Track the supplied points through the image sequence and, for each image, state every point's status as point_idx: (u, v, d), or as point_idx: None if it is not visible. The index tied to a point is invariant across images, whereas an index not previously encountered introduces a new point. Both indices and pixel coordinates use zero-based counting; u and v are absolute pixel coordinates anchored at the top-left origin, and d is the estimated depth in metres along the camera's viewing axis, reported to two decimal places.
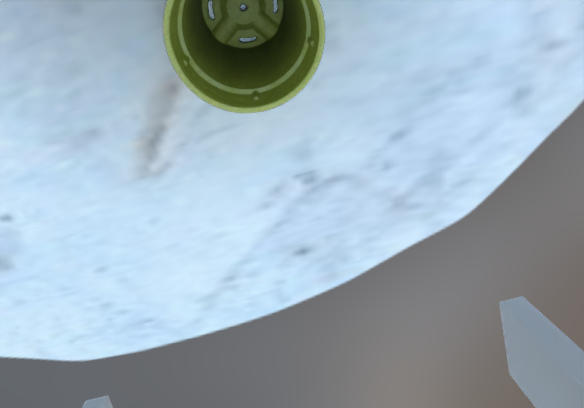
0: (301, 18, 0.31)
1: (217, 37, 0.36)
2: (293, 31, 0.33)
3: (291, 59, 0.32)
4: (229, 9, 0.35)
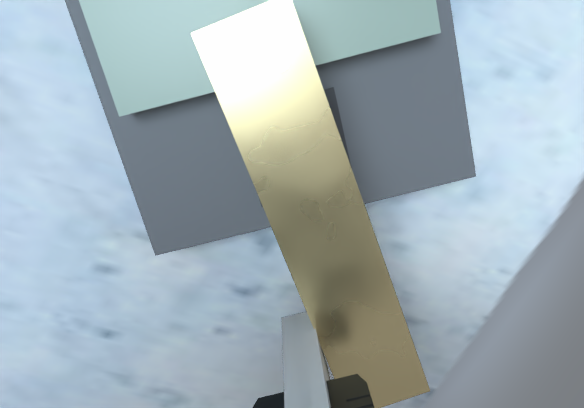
0: None
1: None
2: None
3: None
4: None
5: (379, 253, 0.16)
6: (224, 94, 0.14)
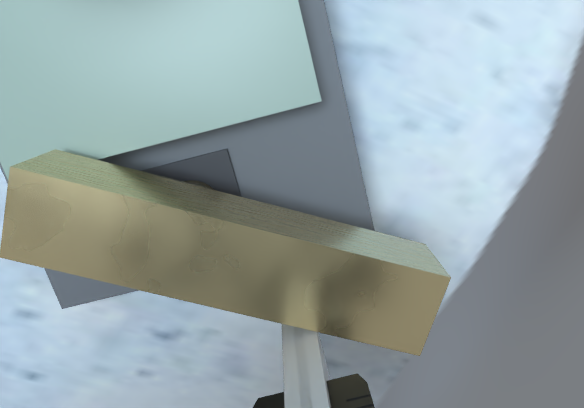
0: None
1: None
2: None
3: None
4: None
5: (281, 236, 0.15)
6: (62, 264, 0.15)
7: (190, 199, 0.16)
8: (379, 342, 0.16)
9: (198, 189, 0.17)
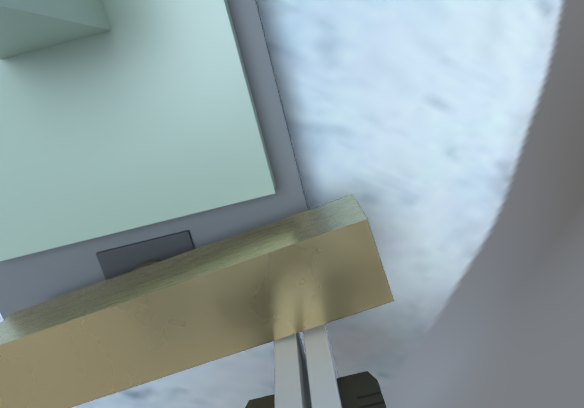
0: None
1: None
2: None
3: None
4: None
5: (199, 278, 0.16)
6: (54, 406, 0.17)
7: (120, 290, 0.17)
8: (349, 311, 0.16)
9: (132, 274, 0.18)
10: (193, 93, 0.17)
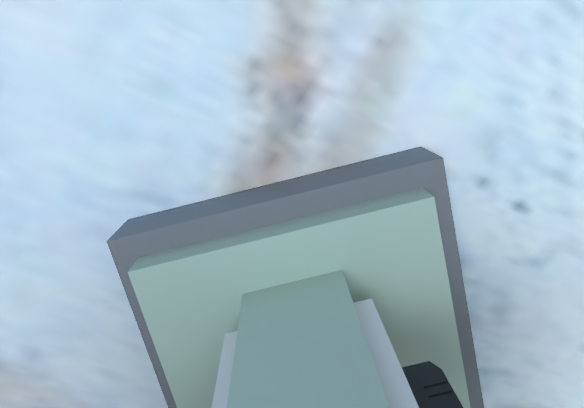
0: None
1: None
2: None
3: None
4: None
5: None
6: None
7: None
8: None
9: None
10: None
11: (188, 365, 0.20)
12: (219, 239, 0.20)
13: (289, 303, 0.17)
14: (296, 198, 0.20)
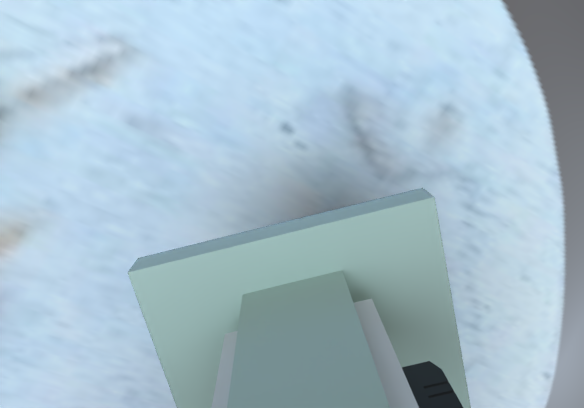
0: None
1: None
2: None
3: None
4: None
5: None
6: None
7: None
8: None
9: None
10: None
11: (188, 365, 0.20)
12: (219, 239, 0.20)
13: (289, 303, 0.17)
14: None
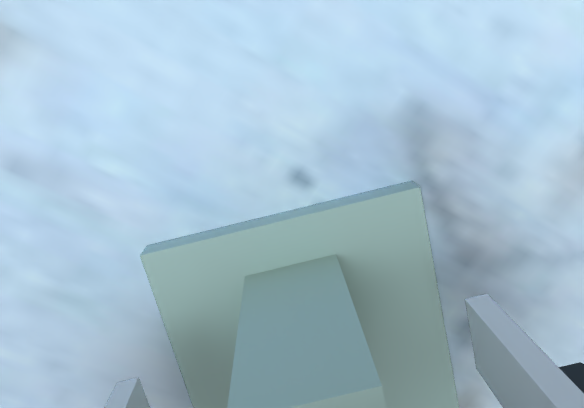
0: None
1: None
2: None
3: None
4: None
5: None
6: None
7: None
8: None
9: None
10: (411, 375, 0.22)
11: (195, 342, 0.22)
12: None
13: (287, 283, 0.19)
14: None
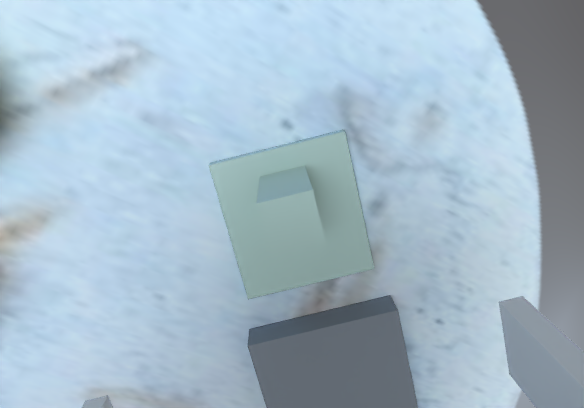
0: None
1: None
2: None
3: None
4: None
5: None
6: None
7: None
8: None
9: None
10: (344, 231, 0.44)
11: (234, 211, 0.43)
12: (249, 153, 0.43)
13: (280, 175, 0.40)
14: (332, 327, 0.44)
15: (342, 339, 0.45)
